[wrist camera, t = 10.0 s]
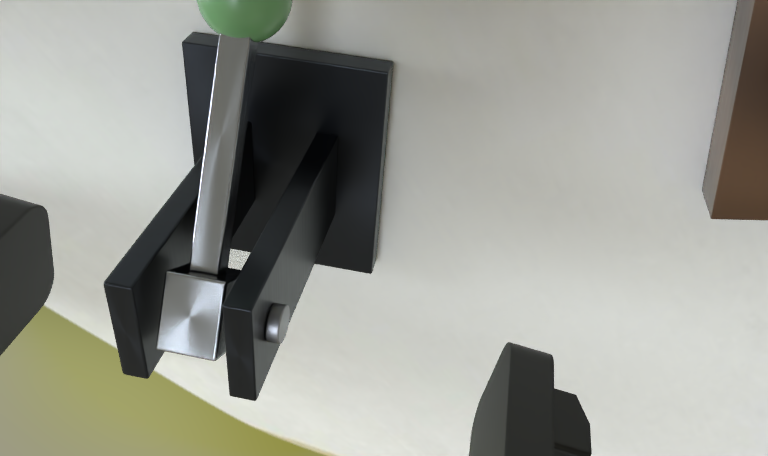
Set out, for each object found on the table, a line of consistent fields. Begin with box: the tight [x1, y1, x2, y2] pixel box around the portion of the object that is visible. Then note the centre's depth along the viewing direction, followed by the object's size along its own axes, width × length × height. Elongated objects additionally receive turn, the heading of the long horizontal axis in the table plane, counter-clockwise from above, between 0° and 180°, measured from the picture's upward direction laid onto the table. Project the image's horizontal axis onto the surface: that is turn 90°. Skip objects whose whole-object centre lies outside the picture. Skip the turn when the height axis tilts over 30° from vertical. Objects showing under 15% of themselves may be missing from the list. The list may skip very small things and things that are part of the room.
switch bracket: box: [104, 32, 393, 401], centre depth 29 cm, size 11×9×13 cm
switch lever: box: [156, 0, 292, 361], centre depth 25 cm, size 14×3×3 cm, turn 176°
